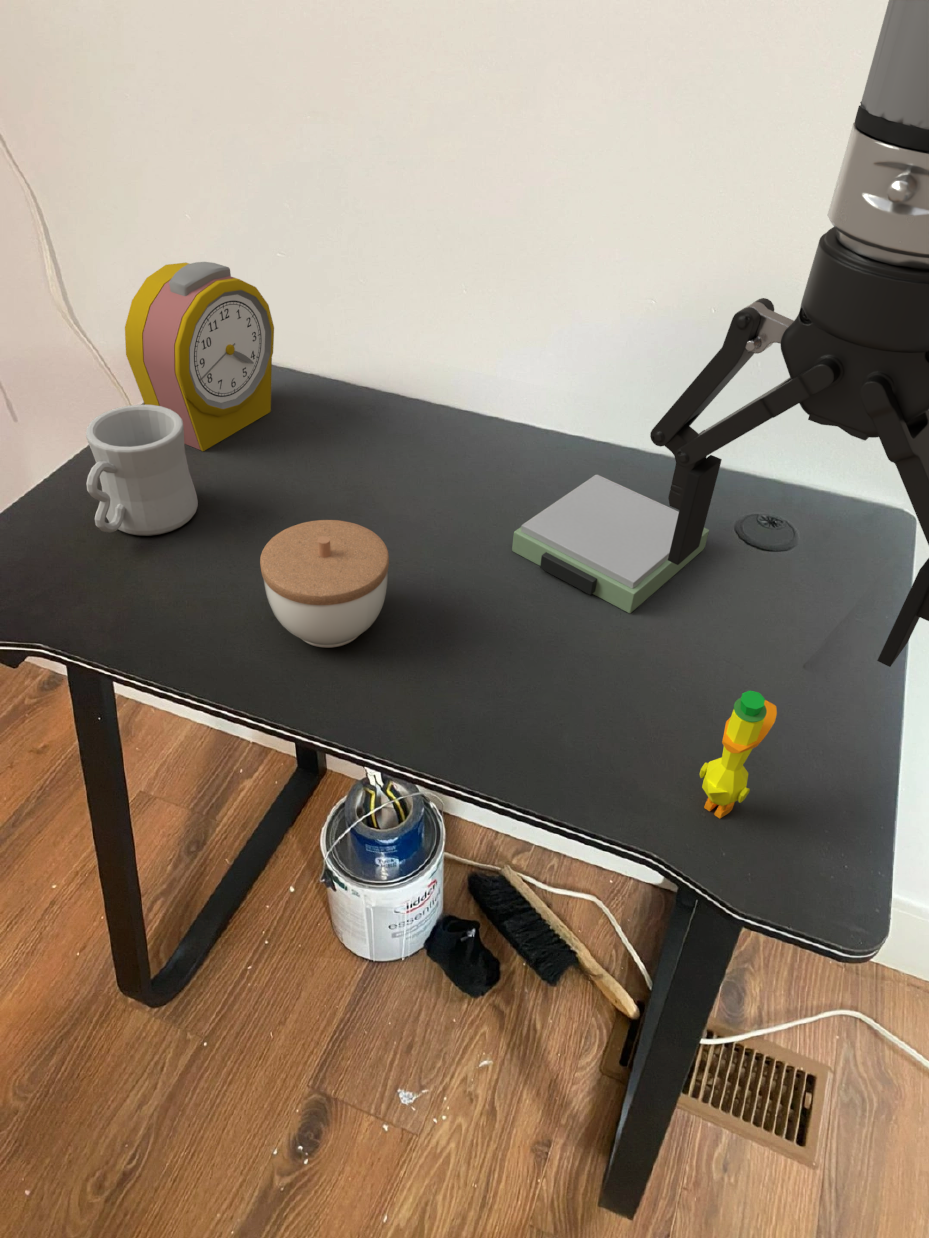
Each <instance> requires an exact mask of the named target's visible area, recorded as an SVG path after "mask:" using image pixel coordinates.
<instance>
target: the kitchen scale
mask: <svg viewBox="0 0 929 1238" xmlns="http://www.w3.org/2000/svg"><path fill="white" fill-rule="evenodd" d="M678 514H679V510H677V509H675V508H673V507H670V506H667V505H665V504H663V503H661V502H658V501H657V500H655V499H652V498H649V497H647V496H645V495H643V494H641V493H639V492H636V491H634V490H633V489H630V488H628V487H626V486H624V485H621V484H619V483H617V482H615V481H612V480H610V479H608V478H607V477H603V476H601V475H600V474H595V475H593V476H592V477H590V478H588V479H587V480H586V481H585V482H582V483H581V484H580V485H578V486H577V487H576V488H574V489H572V490H571V491H570V492H568V493H567V494H565V495H564V496H562V497H560V498H559V499H557V500H556V501H554V502H553V503H552V504H550V505H549V506H548V507H546V508H544V509H543V510H541V511H539V513H537V514H536V515H534V516H533V517H531V518H530V519H529V520H527V521H526V522H524V523H522V524H521V526H520V527H519V528H517V529H516V530H515V531H514V532H513V536H512V537H513V538H512V548H511V552H512V553H515V554H517V555H518V556H520V557H522V558H525V559H526V560H527V561H530V562H532V563H534V564H535V565H537V566H539V568H540V570H542V571H545V572H547V573H549V574H550V575H552V576H554V577H556V578H558V579H560V580H561V581H563V582H565V583H567V584H569V585H571V586H572V587H574V588H577V589H579V590H580V591H582V592H584V593H586V594H588V595H590V596H592V595H594V596H596V597H597V598H599V599H601V600H604V601H606V602H607V603H609V604H611V605H613V606H615V607H617V608H619V609H620V610H622V611H624V612H626V613H628V614H632V613H633V612H634V611H635V610H636V609H638V607H640V606H641V605H642V604H643V603H644V602H645V601H646V600H648V599H649V598H650V597H651V596H652V595H654V593H656V592H657V591H658V590H659V589H660V588H661V587H662V586H664V585H665V584H666V583H667V582H668V581H669V580H671V579H672V578H673V577H674V576H675V575H676V574H677V573H679V572H680V571H681V570H682V569H683V568H684V567H685V566H687V565H688V564H689V563H690V562H691V561H692V560H693V559H694V558H695V557H697V556H698V555H699V554H701V552H703V551H704V550H705V547H706V545H707V541H708V537H709V533H710V529H708V528H706V527H704V529H703V533H702V537H701V541H700V545H699V547H698V548H697V549H696V550H695V551H694V552H692V553H691V554H690V555H689V556H688V557H687V558H686V559H684V560H683V561H682V562H681V563H680V564H679V565H676V564H674V563H672V562H670V561H668V557H669V552H670V548H671V544H672V540H673V535H674V531H675V527H676V523H677V518H678Z"/></svg>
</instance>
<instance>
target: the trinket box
mask: <svg viewBox="0 0 929 1238" xmlns="http://www.w3.org/2000/svg"><path fill="white" fill-rule="evenodd" d="M259 564H260V565H259V566H260V571H261V576H262V578H263V584H264V589H265V595H266V598H267V602H268V604H269V606H270V608H271V611H272V613H273V616H274V617H275V618H276V619H277V621H278V623H279V624H280V625H281V626H282V627H283V628H284V629H285V630H286V631H287V632H289V634H291V635H293V636H294V637H296V638H298V639H300V640H302V641H303V642H304V643H306V644H308V645H311V646H314V647H318V648H337V647H342V646H344V645H347V644H349V643H352V642H353V641H354V640H356V639H357V638H358V637H359V636H360V635H361V634H363V633H364V632H366V631H367V630H368V629H369V628H371V626H372V625H373V624H374V623H375V622H376V620H377V618H378V617H379V615H380V613H381V611H382V608H383V606H384V603H385V600H386V595H387V588H388V579H389V573H388V572H389V567H390V556H389V549H388V547H387V544H385V542H384V541H383V539H382V538H381V537H380V536H379V535H378V534H376V533H375V532H374V531H372V530H371V529H369V528H367V527H365V526H362V525H360V524H358V523H354V522H350V521H345V520H340V519H339V520H338V519H318V520H310V521H305V522H301V523H298V524H296V525H292V526H289V527H287V528H285V529H283V530H281V531H280V532H278V533H277V534H275V535H274V536H273V537H271V539H269V541H268V542H267V543H266V545H265V546H264V548H263V549H262V551H261V554H260V559H259Z"/></svg>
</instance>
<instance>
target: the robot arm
mask: <svg viewBox="0 0 929 1238" xmlns="http://www.w3.org/2000/svg"><path fill="white" fill-rule="evenodd" d="M857 107H858V108H857V111H856V114H855V118H854V122H853V123H852V126H851V129H850V134H849V137H848V141H847V144H846V146H845V147H846V148H845V152H844V155H843V158H842V162H841V165H840V166H841V167H840V169H839V171H838V172H839V173H838V176H837V180H836V183H835V187H834V189H833V193H832V197H831V200H830V205H829V208H828V211H827V218H828V220H829V221H830V223H831V224H832V226H833V227H831V228H830V229H828V230H827V231H826V232H824V233H823V234H821V236H820V237H819V240H818V244H817V247H816V251H815V253H814V256H813V257H814V258H813V261H812V264H811V267H810V270H809V271H810V272H809V273H808V274H809V275H808V278H807V282H806V285H805V288H804V292H803V295H802V299H801V303H800V306H799V307H800V308H799V312H798V314H797V316H796V317H795V319H791V318H789V317H787V316H784V315H782V314H780V313H778V312H776V311H775V305H774V303H773V302H772V301H771V300H770V299H769V298H767V297H761V298H759V299H757V300H755V301H753V302H752V303H750V304H748V305H747V306H745V307H743V308H742V309H740V310H738V311H737V312H736V313H734V315H733V316H732V319H731V321H730V325H729V327H728V330H727V333H726V335H725V338H724V340H723V343H722V346H721V348H719V350H718V351H717V352H716V354H715V355H714V356H713V357H712V359H710V361H709V362H708V363H707V364H706V366H704V368H703V369H702V370H701V372H700V373H698V375H697V376H696V377H695V379H694V380H693V381H692V382H691V383H690V384H689V386H688V387H687V388H686V389H685V390H684V391H683V392H682V394H681V395H680V396H679V397H678V398H677V400H676V401H675V402H674V403H673V405H671V406H670V408H669V409H668V410H667V412H666V413H664V415H663V416H662V418H660V420H659V421H658V422H657V423H656V424H655V426H654V427H653V428H652V429H651V431H650V432H649V433H650V434H649V437H650V440H651V442H652V443H653V444H654V445H655V446H657V447H660V448H661V447H665V448H666V449H667V450H668V451H670V452H671V453H672V455H673V456H674V460H675V467H674V470H673V475H672V478H671V479H672V480H671V484H670V489H669V493H668V497H667V498H668V505H669V507H670V508H672V509H675V510H677V511H678V512H679V514H678V518H677V523H676V527H675V531H674V535H673V540H672V544H671V548H670V552H669V557H668V561H670V562H672V563H674V564H676V565H679V564H680V563H681V562H682V561H683V560H684V559H686V558H687V557H688V556H689V555H690V554H691V553H692V552H694V551H695V550H696V549H697V548H698V547H699V545H700V541H701V537H702V533H703V529H704V528H705V526H706V521H707V518H708V515H709V510H710V506H711V502H712V498H713V495H714V490H715V487H716V482H717V479H718V476H719V472H720V467H721V464H722V461H723V460H722V458H720V457H717V456H715V455H713V453H714V452H717V451H718V450H720V449H721V448H723V447H725V446H727V445H728V444H730V443H732V442H733V441H736V440H737V439H738V438H741V437H742V436H744V435H745V434H747V433H749V432H751V431H753V430H754V429H757V427H759V426H761V425H763V424H764V423H766V422H769V420H771V419H774V418H777V417H778V416H779V415H782V414H783V413H785V412H786V411H788V410H790V409H792V408H793V407H796V406H797V405H798V404H799V406H800V408H801V409H802V410H803V411H804V412H805V414H807V415H808V419H807V421H809V422H813V423H816V424H818V425H822V426H829V427H830V426H831V427H838V428H840V430H842V431H844V432H845V433H846V434H848V435H850V436H851V437H854V438H856V439H859V440H861V441H864V442H865V441H866V442H867V440H868V439H869V438H871V439H872V438H875V439H876V438H878V439H879V440H880V443H881V446H882V449H883V451H884V452H885V455H886V457H887V460H888V461H889V462H890V463H893V464H894V465H895V467H896V470H897V472H898V475H899V477H900V479H901V482H902V484H903V487H904V489H905V491H906V494H907V496H908V498H909V501H910V503H911V507H912V509H913V511H914V513H915V516H916V519H917V521H918V523H919V525H920V527H921V530H922V532H923V535H924V538H925V540H926V543H927V545H928V546H929V0H888V2H887V6H886V9H885V14H884V16H883V20H882V24H881V28H880V32H879V35H878V38H877V42H876V46H875V50H874V54H873V57H872V61H871V64H870V69H869V72H868V75H867V78H866V83H865V85H864V90H863V94H862V97H861V100H860V105H858V106H857ZM776 343H777V344H780V352H781V355H782V357H783V360H784V364H785V366H786V369H787V372H788V375H789V377H788V378H786V379H785V380H783V381H782V382H781V383H780V384H777V385H776V386H774V387H773V388H771V389H769V390H768V391H765V393H763V394H760V395H759V396H758V397H757V398H755V399H753V400H752V401H750V402H748V403H747V404H745V405H743V406H742V407H740V408H738V409H737V410H735V411H733V412H732V413H730V414H729V415H727V416H726V417H723V418H722V419H720V420H719V421H717V422H716V423H714V424H712V425H710V426H709V427H707V428H706V429H703V430H702V431H700V432H698V431H696V430H695V429H694V428H693V427H691V425H692V424H693V423H694V422H695V421H696V420H697V418H699V417H700V415H701V414H702V413H703V412H704V411H705V410H706V408H708V406H709V405H710V404H711V403H712V402H713V401H714V400H715V398H716V397H718V395H719V394H720V393H721V392H722V391H723V390H724V389H725V387H726V386H727V385H728V384H729V383H730V382H731V381H732V379H734V378H735V376H736V375H737V374H738V373H739V372H740V370H742V368H743V367H744V366H745V365H746V364H747V363H748V362H749V361H750V359H751V358H752V357H754V355H755V354H757V355H758V354H761V353H763V352H764V351H766V350H767V349H768V348H770V347H772V345H773V344H776ZM920 619H923V620H925V621H927V622H929V557H928V558H927V559H926V560H925V562H924V563H923V565H922V566H921V567H920V568H919V570H918V572H917V574H916V576H915V578H914V580H913V583H912V585H911V587H910V589H909V591H908V594H907V596H906V597H905V600H904V602H903V604H902V607H901V609H900V610H899V613H898V615H897V617H896V619H895V621H894V623H893V625H892V627H891V630H890V632H889V634H888V637H887V638H886V640H885V643H884V645H883V647H882V649H881V652H880V654H879V655H878V657H877V660H876V661H877V662H878V663H881V664H883V665H885V666H887V667H889V668H891V667H892V665H894V662H895V661H896V660H897V658H898V657H899V655H900V654H901V653H902V651H903V650H904V648H905V647H906V646H907V645H908V642H909V640H910V639H911V637H912V634H913V632H914V630H915V628H916V626H917V624H918V622H919V621H920Z"/></svg>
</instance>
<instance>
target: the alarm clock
mask: <svg viewBox="0 0 929 1238" xmlns="http://www.w3.org/2000/svg"><path fill="white" fill-rule="evenodd" d="M269 305H270V304H269V303H268V302H267V301H266V299H265V297H264V296H263V295H262V294H261V292H260V290H258V288H257V287H256V286H255V285H253V284H251V283H248V282H246V281H244V280H242V279H240V278H237V277H234V276H232V274H231V268H230V267H229V266H226V265H223V264H219V263H216V262H212V261H211V262H210V261H196V262H191V263H189V262H179V263H169V264H165V265H163V266H161V267H160V268H158V269H157V270H156V271H155V272H153V273H151V274H150V275H148V276H147V277H146V278H145V279H144V281H143V283H142V284H141V286H140V287H139V289H138V290H137V292H136V293H135V295H134V296H133V298H132V299H131V303H130V306H129V309H128V314H127V317H126V320H125V321H126V322H125V325H124V339H125V357H126V359H127V361H128V364H129V366H130V369H131V372H132V375H133V377H134V380H135V383H136V385H137V388H138V390H139V393H140V396H141V398H142V400H143V403H144V404H143V405H155V406H162V407H165V408H168V409H170V410H172V411H174V412H175V413H177V414H178V415H179V416H180V418H181V419H182V421H183V427H184V445H186V446H189V447H192V448H194V449H195V450H196V449H197V450H199V451H201V452H205V451H206V450H208V449H210V448H211V447H213V446H215V445H216V444H218V443H220V442H222V441H223V440H225V439H227V438H228V437H230V436H232V435H234V434H236V433H238V432H239V431H240V430H242V429H244V428H246V427H247V426H249V425H251V424H253V423H254V422H256V421H257V420H259V419H261V418H263V417H264V416H266V415H268V414H270V413H271V412H272V375H273V374H272V371H273V369H272V368H273V367H272V366H273V365H272V364H273V354H274V346H275V345H274V340H275V325H274V322H273V317H272V313H271V309H270V306H269Z"/></svg>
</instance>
